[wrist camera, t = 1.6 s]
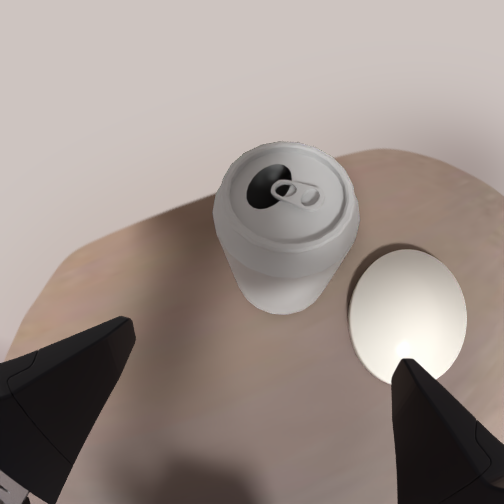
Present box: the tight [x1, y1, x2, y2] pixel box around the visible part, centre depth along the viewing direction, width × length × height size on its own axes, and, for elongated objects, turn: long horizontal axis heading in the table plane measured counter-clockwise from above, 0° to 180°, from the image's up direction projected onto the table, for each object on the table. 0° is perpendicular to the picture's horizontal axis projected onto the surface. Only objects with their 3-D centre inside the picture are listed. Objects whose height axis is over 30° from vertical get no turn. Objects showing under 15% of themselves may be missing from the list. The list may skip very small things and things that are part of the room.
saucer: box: [348, 249, 467, 385], centre depth 20 cm, size 12×12×1 cm
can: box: [212, 142, 360, 315], centre depth 18 cm, size 8×8×12 cm
